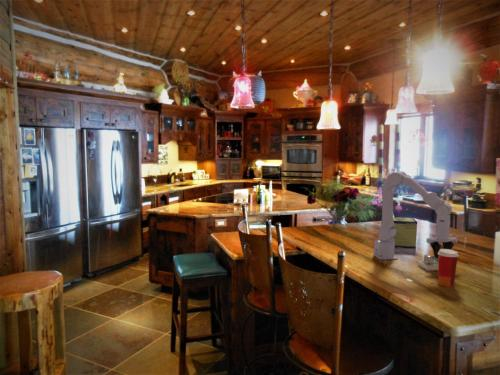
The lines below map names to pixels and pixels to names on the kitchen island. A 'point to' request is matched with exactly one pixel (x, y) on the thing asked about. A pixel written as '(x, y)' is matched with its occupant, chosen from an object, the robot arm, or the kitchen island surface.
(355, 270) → the kitchen island surface
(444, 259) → the paper cup
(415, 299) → the kitchen island surface
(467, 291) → the kitchen island surface
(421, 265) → the parts tray
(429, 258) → the silver metal cylinder
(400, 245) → the protein box
